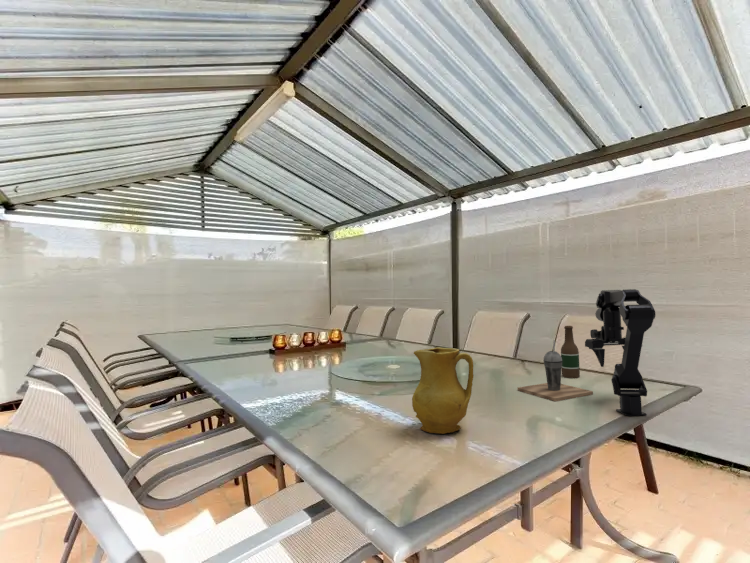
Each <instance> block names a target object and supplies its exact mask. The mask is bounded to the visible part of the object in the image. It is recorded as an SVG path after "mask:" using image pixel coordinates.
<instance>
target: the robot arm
mask: <svg viewBox="0 0 750 563" xmlns="http://www.w3.org/2000/svg"><path fill="white" fill-rule="evenodd" d="M629 302H630V303H632V302H636V304H626V305H625V303H629ZM595 307H596V308H597V309H596V311H595V314H594V315H595V318H596V319H597V320H598V321H600V322H603V325H602V326H600V330H598V329H591V330H590V334H589V335H590V338H587V339H586V340H585V341H584V347H585V348H588V349H589V350H592V352H594V354H595V356H596V359H597V360H598V363H599V365H600V367H601V368H604V366H605V352H606V349H605V348H604V347H606V346H621V348H622V349H623V352H622V359H621V363H616V364H615V365H614V370H613V375H612V376H611V384H612V389H613V395H616V396H618V397H619V408H616V409H615V411H616V412H618V413H621V414H623V415H624V416H628V417H634V416H636V417H637V416H647V413H646V412H645V411H642V410H643V408H642V397H647V396H648V390H647V387H646V384H645V380H644V379H643V376H642V374H641V372H640V370H639V364H640V359H641V352H642V349H643V340H644V336H645V333H646V332H647V331H648V330H649V329H650V328H652V326H653V323H654V320H655V319H656V309H655V308H654V306H653V304H652V302H651V301H650V300H649V299H648V298H646V297H644V296H643V295H642V294H641V292H640V291H639V290H638V289H635V288H632V289H631V288H628V289H622V290H621V289H607V290H606V289H604V290H600V293H599V294H598V296H597V298H596V302H595ZM622 322H623V323H624V324H625V326H626V332H625V333H626V334H625V336H624V337H622V336H623V334H622V332H623V331H624V330H625V328H624V326H622ZM622 330H623V331H622Z"/></svg>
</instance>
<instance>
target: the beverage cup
mask: <svg viewBox="0 0 750 563" xmlns="http://www.w3.org/2000/svg"><path fill="white" fill-rule="evenodd" d="M555 346H556V340H555V339H553V347H552V348H553V349H552V350H550V351H547V352H546V353H545V354H544V357H543V364H544V370H545V375H546V377H545V378H546V383H547V385H548V389H549V390H552V391H559V390H560V386H561V384H562V369H561V367H562V362H563V361H562V357H561V353H559V352H557V351H556V350H555Z"/></svg>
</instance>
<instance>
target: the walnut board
mask: <svg viewBox="0 0 750 563" xmlns="http://www.w3.org/2000/svg"><path fill="white" fill-rule="evenodd" d="M517 392H522V393H525V394H527V395H532V396H535V397H537V398H538V397H539V398H541V399H545V400H548V399H549V401H551V402H560V401H564V400H565V399H566V400H570V398H571V399H576V397H577V398H581V397H586V396H592V395H594V391H593V390H589V389H584V388H580V387H578V386H577V387H576V386H572V385H567V384H564V383H561V386H560V390H559V391H552V390H549V389H548V385H547V382H544V383H538V384H532V385H526V386H525V385H524V386H520V387H517ZM566 400H565V401H566Z"/></svg>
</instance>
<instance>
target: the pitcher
mask: <svg viewBox="0 0 750 563" xmlns="http://www.w3.org/2000/svg"><path fill="white" fill-rule="evenodd" d="M413 354H414V356H415V357H416V358H417V359H418V362H419V365H420V378H419V379H420V380H419V383H418V385H417V386H416V388H415V390H414V392H413V394H412V397H411V398H412V399H411V406H412V409H413V412H414V413H415V414H416V415H415V417H416V418H417V419H418V420H419V422H420V423H421V425H422V426H420V428H419V429H420V430H421V431H423V432H427V433H430V434H441V435H443V434H450V433H454V432H457V431H459V430H461V429H462V427H461V425H460V424H459V423H460V421H462V420H463V419H464V418H465V417H466V415H467V411H468V406H469V402H470V399H471V396H472V389H473V388H472V387H473V381H474V361H473V357H472V356H471V354H468V353H467V352H460V349H458V348H451V347H450V348H449V347H448V348H447V347H440V346H439V347H434V348H426V349H424V348H423V349H417V350H414V351H413ZM460 360H464V361H466V362H467V363H468V376H467V382H466V383H467V385H466V388H465V389H464V387H463V386H462V384H461V383H460V380H459V379H458V373H457V364H458V362H460Z"/></svg>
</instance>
